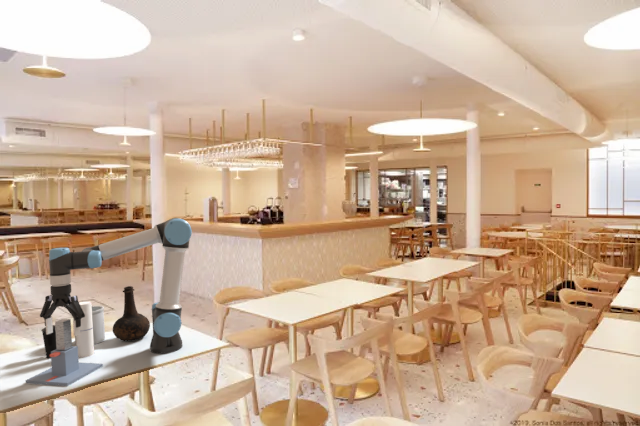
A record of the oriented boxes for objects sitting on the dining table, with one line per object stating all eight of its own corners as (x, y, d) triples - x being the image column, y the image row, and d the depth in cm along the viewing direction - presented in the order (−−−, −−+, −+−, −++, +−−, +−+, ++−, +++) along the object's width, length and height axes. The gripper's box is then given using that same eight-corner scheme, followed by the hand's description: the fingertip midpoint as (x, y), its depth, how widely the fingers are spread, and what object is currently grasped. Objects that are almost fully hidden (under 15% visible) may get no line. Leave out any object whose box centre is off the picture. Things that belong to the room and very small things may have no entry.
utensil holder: (72, 348, 216) (70, 314, 215) (75, 340, 230) (73, 307, 229) (104, 343, 222) (102, 310, 221) (106, 335, 236) (104, 304, 235)
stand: (102, 366, 191) (101, 341, 191) (67, 386, 171) (66, 358, 171) (64, 364, 195) (62, 340, 195) (25, 383, 176) (24, 356, 175)
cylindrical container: (86, 357, 202) (83, 305, 202) (73, 357, 204) (70, 304, 203) (97, 352, 209) (94, 301, 208) (84, 351, 211) (82, 301, 210)
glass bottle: (157, 334, 235) (154, 283, 234) (135, 345, 218) (133, 290, 217) (128, 332, 239) (126, 283, 238) (105, 343, 222) (102, 290, 221)
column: (73, 369, 185) (71, 319, 184) (66, 373, 181) (63, 322, 180) (65, 369, 186) (62, 318, 185) (57, 373, 182) (54, 321, 181)
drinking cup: (65, 354, 208) (63, 313, 207) (49, 360, 201) (47, 317, 200) (55, 352, 211) (52, 312, 210) (39, 358, 204) (36, 316, 203)
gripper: (92, 283, 183) (95, 332, 184) (43, 282, 188) (45, 330, 189) (79, 286, 176) (81, 338, 176) (28, 285, 181) (30, 335, 181)
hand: (63, 334), depth 183 cm, fingers open, 13 cm apart
